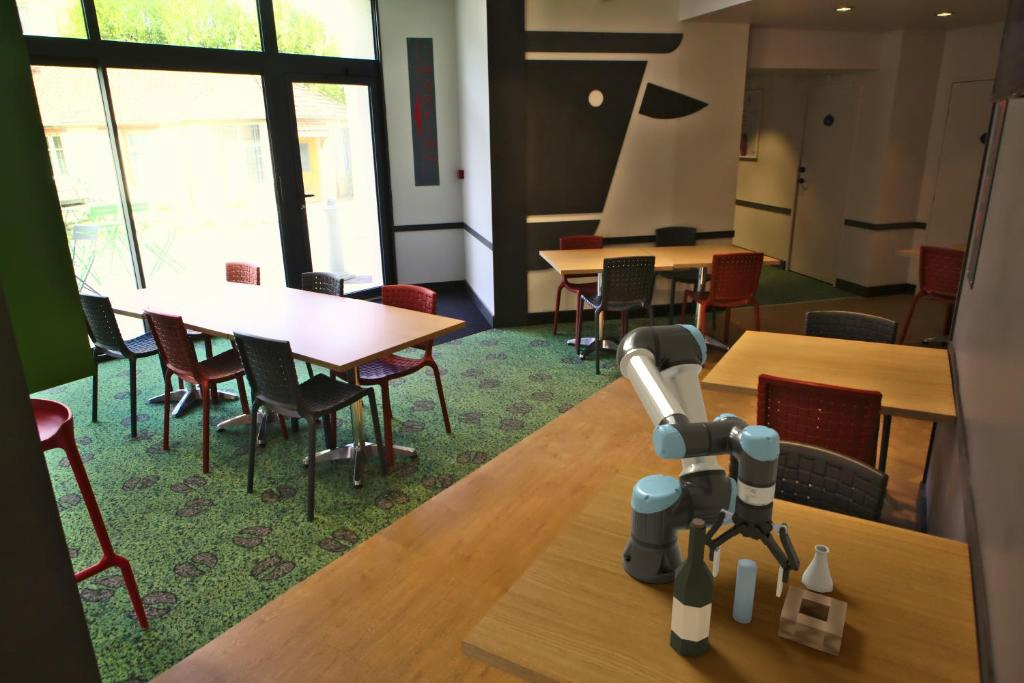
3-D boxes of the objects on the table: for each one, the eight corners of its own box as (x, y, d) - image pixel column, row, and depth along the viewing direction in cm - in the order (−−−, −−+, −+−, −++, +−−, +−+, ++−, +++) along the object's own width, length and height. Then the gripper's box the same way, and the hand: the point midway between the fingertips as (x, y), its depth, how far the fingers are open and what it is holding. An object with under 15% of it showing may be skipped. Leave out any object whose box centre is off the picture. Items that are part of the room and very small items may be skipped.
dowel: (730, 619, 146) (736, 566, 142) (735, 608, 149) (740, 556, 145) (749, 625, 144) (755, 572, 140) (753, 614, 147) (758, 562, 143)
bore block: (777, 635, 141) (780, 616, 139) (787, 603, 151) (789, 585, 149) (838, 656, 135) (841, 637, 133) (844, 621, 145) (847, 602, 143)
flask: (837, 595, 153) (842, 559, 150) (804, 591, 154) (809, 556, 152) (829, 576, 160) (834, 541, 157) (798, 573, 161) (802, 538, 158)
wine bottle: (679, 624, 145) (687, 506, 136) (715, 641, 140) (726, 519, 131) (662, 645, 139) (670, 523, 130) (698, 664, 134) (709, 538, 125)
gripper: (691, 491, 141) (685, 574, 147) (816, 522, 128) (804, 612, 134) (701, 476, 147) (695, 557, 153) (821, 504, 134) (809, 591, 140)
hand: (746, 583), depth 143 cm, fingers open, 13 cm apart
